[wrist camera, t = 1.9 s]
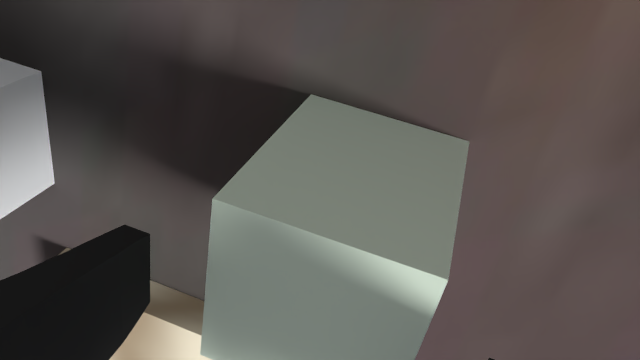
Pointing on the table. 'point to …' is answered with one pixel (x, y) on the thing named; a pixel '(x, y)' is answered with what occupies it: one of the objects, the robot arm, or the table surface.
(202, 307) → the birch block
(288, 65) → the table surface
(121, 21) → the table surface
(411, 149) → the sage block
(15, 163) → the grey block
